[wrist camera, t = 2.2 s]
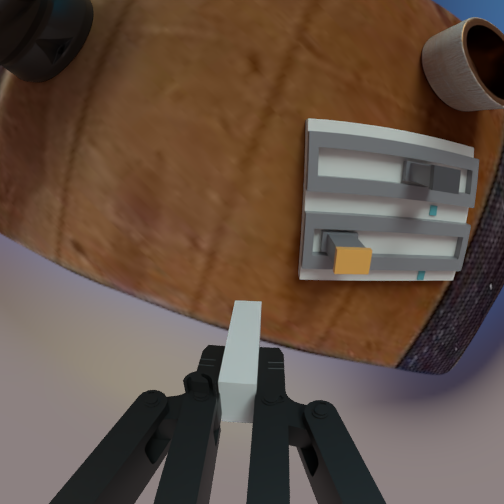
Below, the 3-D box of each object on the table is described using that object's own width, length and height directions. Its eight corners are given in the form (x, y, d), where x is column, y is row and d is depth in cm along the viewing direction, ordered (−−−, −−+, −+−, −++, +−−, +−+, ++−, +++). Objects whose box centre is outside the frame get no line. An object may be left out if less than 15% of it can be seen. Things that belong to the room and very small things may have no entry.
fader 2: (403, 159, 28) (432, 164, 22) (432, 164, 27) (463, 170, 22) (402, 180, 28) (429, 189, 23) (430, 184, 28) (460, 194, 22)
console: (305, 120, 29) (309, 117, 26) (465, 146, 28) (479, 148, 25) (298, 272, 35) (300, 284, 32) (446, 274, 34) (457, 284, 31)
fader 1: (322, 229, 31) (334, 249, 25) (356, 230, 31) (375, 250, 25) (320, 250, 32) (331, 273, 26) (354, 251, 32) (371, 274, 26)
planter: (414, 27, 23) (451, 2, 14) (475, 49, 23) (516, 37, 14) (422, 102, 27) (467, 94, 18) (483, 119, 26) (529, 120, 17)
